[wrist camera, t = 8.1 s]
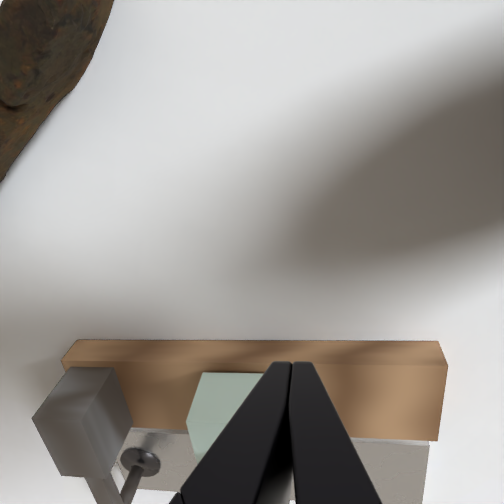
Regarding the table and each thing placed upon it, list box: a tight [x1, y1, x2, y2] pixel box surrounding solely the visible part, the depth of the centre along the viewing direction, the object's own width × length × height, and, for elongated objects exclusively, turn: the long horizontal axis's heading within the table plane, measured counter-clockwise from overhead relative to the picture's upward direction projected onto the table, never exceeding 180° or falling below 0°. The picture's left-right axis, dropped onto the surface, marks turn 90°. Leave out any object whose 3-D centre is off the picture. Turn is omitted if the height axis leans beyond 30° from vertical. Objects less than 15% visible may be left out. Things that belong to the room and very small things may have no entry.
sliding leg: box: [186, 372, 263, 464], centre depth 25 cm, size 4×14×6 cm, turn 6°
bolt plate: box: [116, 427, 430, 504], centre depth 30 cm, size 23×7×1 cm, turn 96°
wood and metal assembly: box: [32, 340, 448, 504], centre depth 26 cm, size 23×14×6 cm, turn 96°
